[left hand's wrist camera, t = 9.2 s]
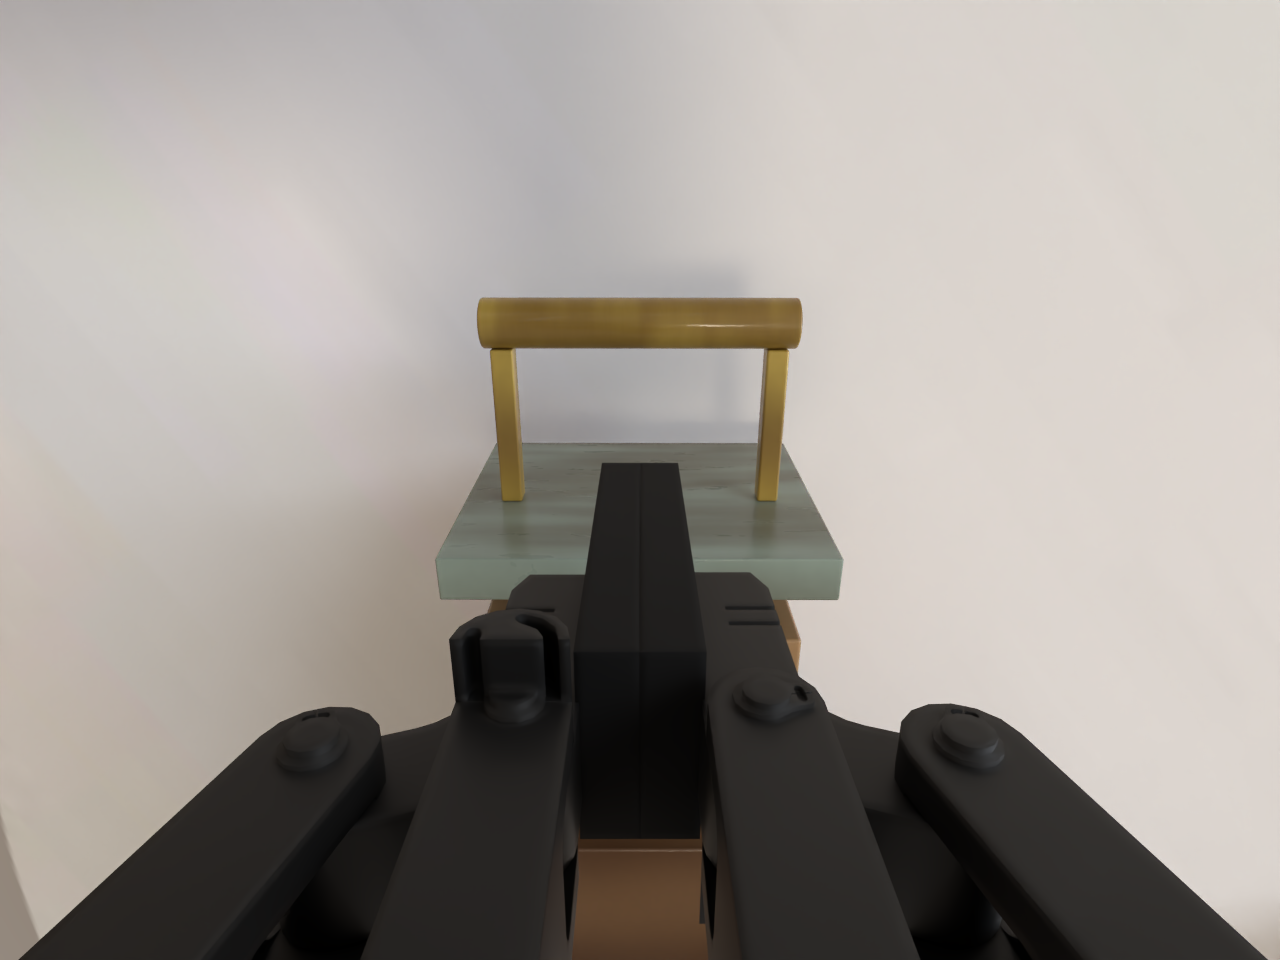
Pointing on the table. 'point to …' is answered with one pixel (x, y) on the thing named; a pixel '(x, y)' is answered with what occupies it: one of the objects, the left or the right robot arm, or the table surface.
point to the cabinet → (639, 900)
